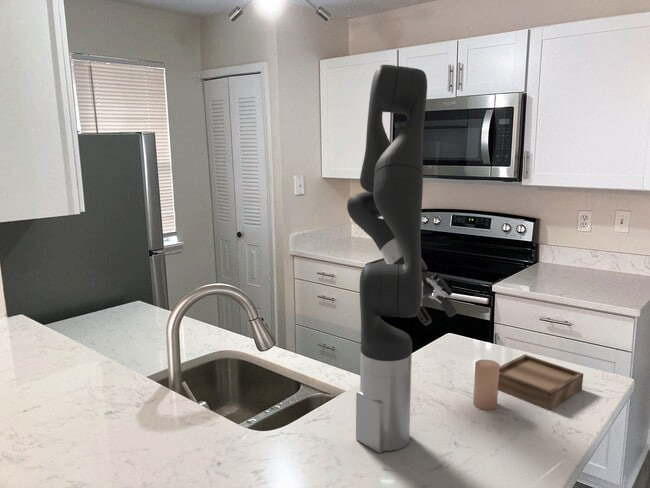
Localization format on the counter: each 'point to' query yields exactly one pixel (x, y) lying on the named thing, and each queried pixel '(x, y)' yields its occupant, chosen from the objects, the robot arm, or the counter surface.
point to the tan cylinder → (486, 384)
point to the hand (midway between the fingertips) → (441, 319)
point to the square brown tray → (539, 381)
